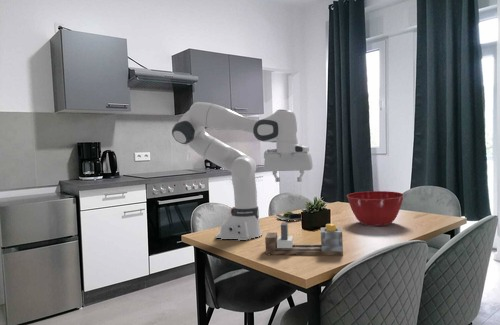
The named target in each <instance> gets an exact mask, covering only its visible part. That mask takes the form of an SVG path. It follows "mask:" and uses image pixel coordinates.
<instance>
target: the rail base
mask: <svg viewBox="0 0 500 325" xmlns="http://www.w3.org/2000/svg"><path fill="white" fill-rule="evenodd" d="M264 238H265V243H264V244H265V255H266V254H296V255H295V256H344V251H343V250H344V246H343V244H344V243H343V241H344V239H343V231H342V227H341V226H339V227H337V226H336V231H326V227H320V244H293V246H292V248H277V238H278V232H267V233H266V235H265V237H264Z"/></svg>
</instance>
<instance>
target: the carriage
mask: <svg viewBox="0 0 500 325" xmlns="http://www.w3.org/2000/svg"><path fill="white" fill-rule="evenodd" d="M288 222H289V221H284V222H281V223H280V235H279V236H278V235H277V248H292V246H293V245H294V237H293V235H289V223H288Z"/></svg>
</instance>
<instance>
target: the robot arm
mask: <svg viewBox="0 0 500 325" xmlns="http://www.w3.org/2000/svg"><path fill="white" fill-rule="evenodd" d="M297 123H298V122H297V117H296V114H295V113H294V112H293V111H292V110H289V109H276V111H274V113H272V114H270V115H269V116H266V117H265V118H261V119H255V118H250V117H247V116H243V115H241V114H239V113H237V112H236V111H233V110H231V109H229V108H226V107H225V106H222V105H219V104H215V103H212V102H204V101H203V102H202V101H196V102H194V103H192V105H191V106H190V108H189V109H188V110H187V111H186V112H185V113H184V114H182V116H181V117H180V118H179V120H178V121H177V123H175V124H174V126H173V127H172V130H171V135H172V137H173V138H174V140H175V141H176V142H178V143H179V144H183V145H188V146H189V148H191V149H192V151H194V152H195V153H196V154H198V155H199V156H201V157H203V158H204V159H206V160H208V161H210V162H211V163H212V164H215V165H216V166H218V167H220V168H222V169H225V170H227V171H230V173H231V180H232V186H233V187H232V188H233V198H234V199H233V200H234V206H233V207H232V208H231V209H230V216H229V217H228V218H227V219H226V220H224V221H223V222H222V223H221V226H220V230H219V232H217V233H216V235H215V239H216V238H222V239H238V240H237V241H240V240H246V241H248V240H247V239H249V240H252V239H251V238H254V239H256V238H255V237H258V238H260V237H262V236H263V234H262V233H263V232H262V230H261V226H260V221H259V218H260V210H259V206H258V190H257V184H256V171H257V162H256V161H255V160H254V158H253V157H251V156H249V155H248V154H245V153H243V152H242V151H240V150H238V149H236V148H234V147H233V146H230V145H228V144H226V143H225V142H223V141H221V140H219V139H218V138H216V137H215V136H213V135H211V134H210V133H207V131H206V130H207V129H211V130H216V131H243V132H248V133H251V134H253V136H254V138H256V139H257V140H258V141H260V142H266V143H267V142H268V143H276V144H275V145H276V148H274V149H272V148H271V149H270V148H269V149H266V150H265V151H264V152H263V158H264V163H263V165H264V166H263V170H264V171H265V172H272V175H273V177H274V178H275V183H279V182H281V177H279V176H278V172H291V171H292V172H293V171H294V172H297V171H298V172H299V176H297V177H296V180H297V182H299V183H300V182H302V181H303V179H302V178H303V176H304V173H305V172H306V171H311V170H312V169H313V159H312V156H311V153H310V147H309V146H305V145H303V144H298V137H297V132H298V127H297V126H298V125H297ZM261 235H262V236H261ZM259 236H260V237H259ZM222 239H221V240H222Z"/></svg>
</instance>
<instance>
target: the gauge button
mask: <svg viewBox="0 0 500 325" xmlns="http://www.w3.org/2000/svg"><path fill="white" fill-rule="evenodd" d="M336 227H337V224H336V223H326V224H325V228H326V231H336Z"/></svg>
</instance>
